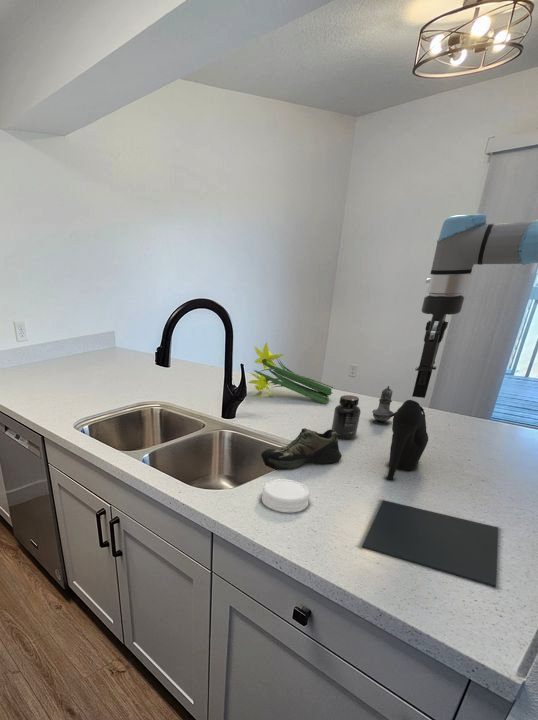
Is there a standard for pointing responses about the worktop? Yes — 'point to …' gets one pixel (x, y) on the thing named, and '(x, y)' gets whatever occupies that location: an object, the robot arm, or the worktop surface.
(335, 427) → the supplement bottle
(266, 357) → the daffodil flowers
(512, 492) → the worktop surface
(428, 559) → the mat
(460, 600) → the worktop surface
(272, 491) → the coaster
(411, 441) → the high-heeled shoe
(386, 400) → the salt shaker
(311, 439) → the hiking shoe
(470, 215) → the robot arm
